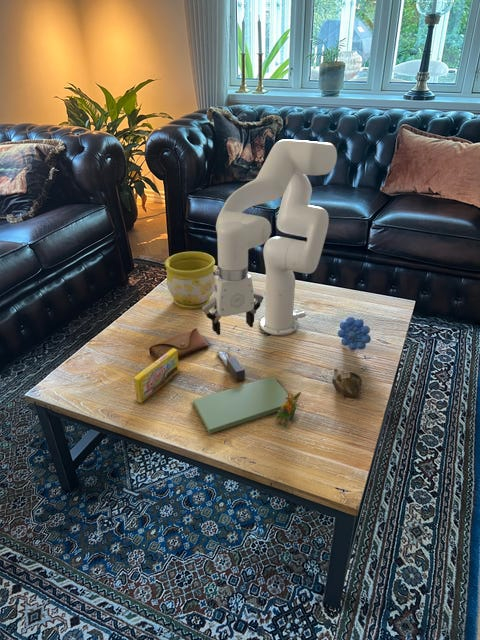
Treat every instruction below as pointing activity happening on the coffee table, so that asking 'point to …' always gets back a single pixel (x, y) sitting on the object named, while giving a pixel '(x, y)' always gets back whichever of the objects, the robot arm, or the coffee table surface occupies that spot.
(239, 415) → the sage board
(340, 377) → the fossilized seashell
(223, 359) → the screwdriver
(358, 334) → the blue flower shape
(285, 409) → the figurine
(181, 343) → the sunglasses case
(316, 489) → the coffee table surface
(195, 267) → the flowerpot
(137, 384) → the candy box
